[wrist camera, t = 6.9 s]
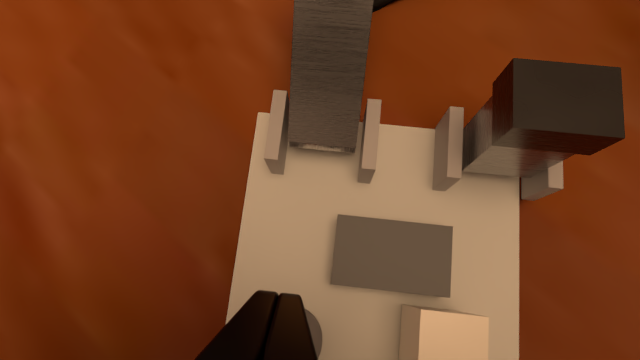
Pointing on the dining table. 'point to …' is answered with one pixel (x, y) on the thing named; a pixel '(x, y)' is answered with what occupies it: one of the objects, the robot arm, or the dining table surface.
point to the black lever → (544, 117)
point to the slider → (442, 334)
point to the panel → (393, 196)
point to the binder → (380, 4)
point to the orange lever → (328, 73)
